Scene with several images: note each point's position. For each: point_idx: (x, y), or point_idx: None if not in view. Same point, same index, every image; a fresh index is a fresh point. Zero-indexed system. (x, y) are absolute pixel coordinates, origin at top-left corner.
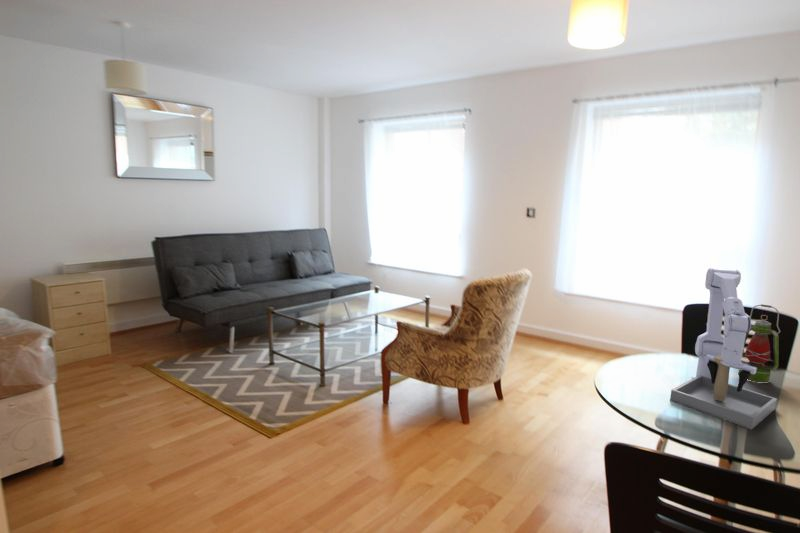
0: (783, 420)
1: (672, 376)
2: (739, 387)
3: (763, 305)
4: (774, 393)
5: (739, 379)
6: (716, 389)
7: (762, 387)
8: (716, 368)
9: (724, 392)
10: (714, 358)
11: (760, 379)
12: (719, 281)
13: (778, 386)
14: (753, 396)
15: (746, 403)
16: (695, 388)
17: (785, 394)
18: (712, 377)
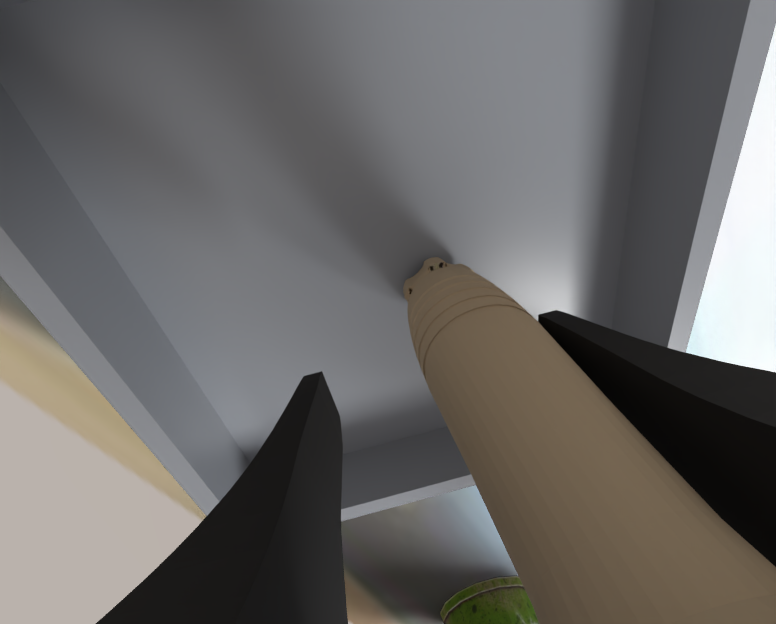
0: (124, 420)
1: (744, 351)
2: (293, 405)
3: None
4: (377, 581)
5: (276, 492)
6: (478, 284)
7: (430, 582)
8: (698, 487)
9: (415, 314)
10: None
11: (461, 615)
12: None
13: (409, 621)
14: (343, 483)
15: (339, 410)
16: (606, 314)
17: (355, 602)
18: (606, 335)
